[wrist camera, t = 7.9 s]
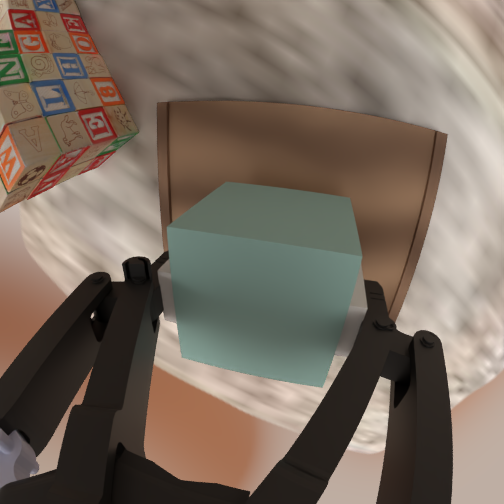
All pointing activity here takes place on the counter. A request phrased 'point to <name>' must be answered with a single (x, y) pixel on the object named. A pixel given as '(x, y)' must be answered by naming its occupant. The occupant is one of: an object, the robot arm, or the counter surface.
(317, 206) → the cube
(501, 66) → the counter surface
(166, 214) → the board
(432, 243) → the counter surface
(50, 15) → the stack of blocks
